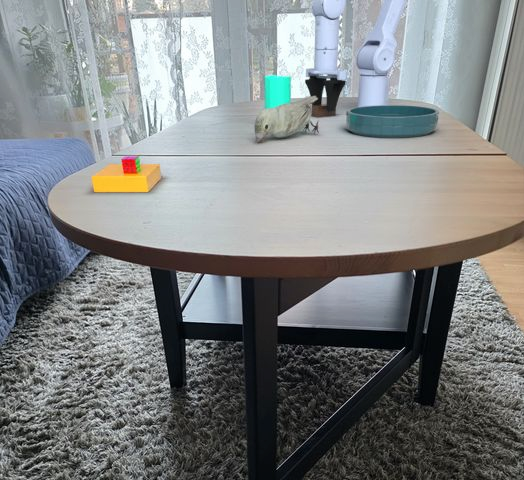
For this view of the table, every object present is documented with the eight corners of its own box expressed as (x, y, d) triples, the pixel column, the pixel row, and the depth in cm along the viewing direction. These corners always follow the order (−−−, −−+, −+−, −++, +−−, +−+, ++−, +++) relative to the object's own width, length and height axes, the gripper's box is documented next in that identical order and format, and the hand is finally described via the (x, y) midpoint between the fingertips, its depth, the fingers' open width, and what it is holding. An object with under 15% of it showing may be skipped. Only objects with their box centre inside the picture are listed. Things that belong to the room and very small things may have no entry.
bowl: (363, 121, 123) (364, 103, 121) (445, 126, 115) (448, 107, 113) (332, 134, 109) (333, 114, 107) (422, 141, 100) (425, 119, 98)
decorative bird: (248, 141, 104) (247, 101, 100) (305, 132, 113) (306, 94, 109) (265, 145, 101) (264, 103, 97) (322, 135, 109) (324, 96, 105)
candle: (261, 125, 121) (259, 68, 115) (283, 123, 123) (283, 67, 117) (271, 129, 117) (271, 70, 110) (295, 127, 119) (295, 68, 112)
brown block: (329, 114, 135) (330, 103, 134) (335, 115, 134) (336, 104, 132) (311, 116, 133) (311, 105, 132) (317, 117, 131) (317, 106, 130)
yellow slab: (93, 192, 73) (87, 161, 71) (111, 178, 80) (106, 150, 78) (148, 192, 72) (143, 161, 70) (161, 178, 79) (158, 149, 77)
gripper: (296, 49, 129) (295, 108, 136) (330, 50, 118) (328, 114, 125) (318, 48, 132) (317, 106, 139) (354, 49, 121) (350, 111, 128)
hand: (323, 109), depth 132 cm, fingers open, 6 cm apart
